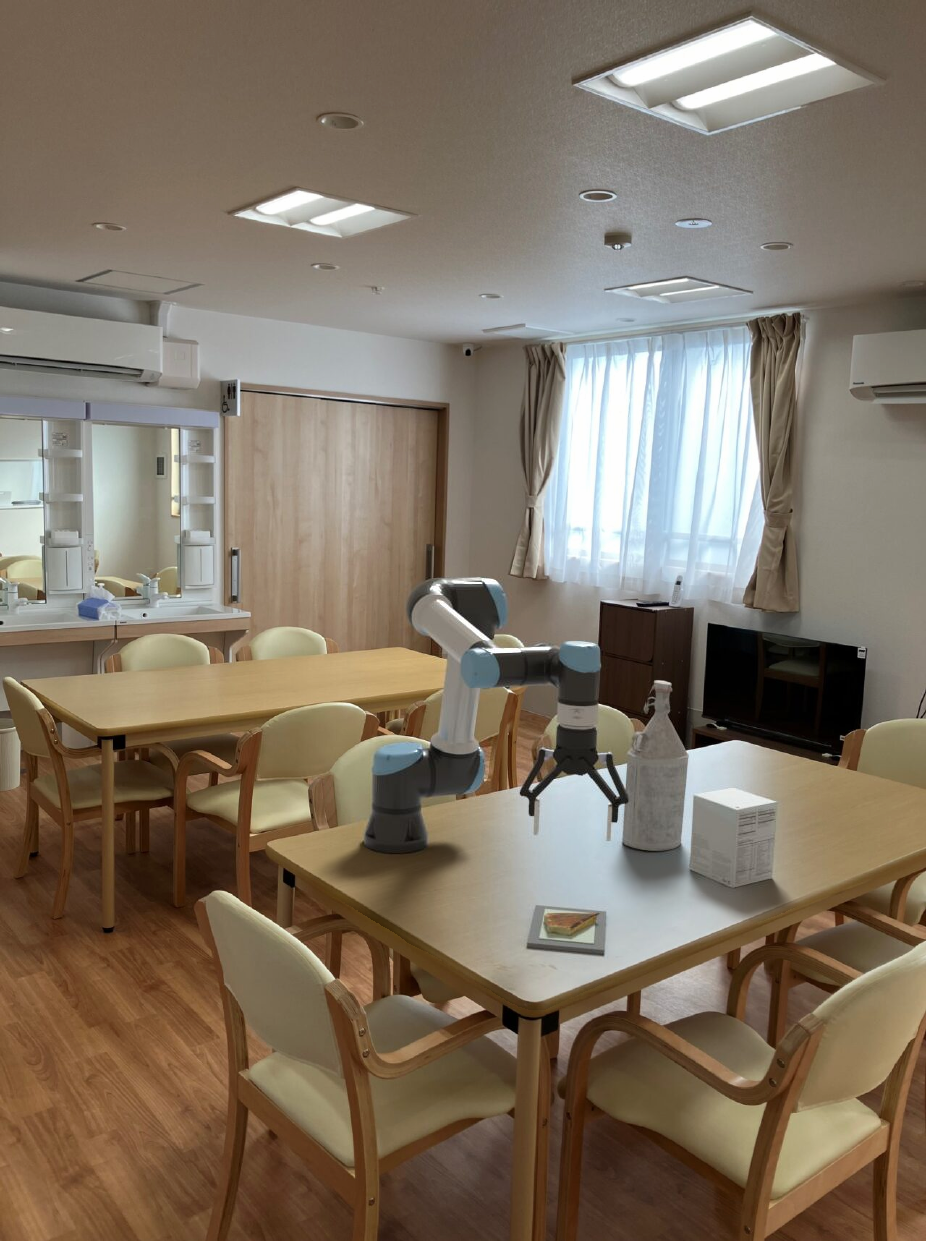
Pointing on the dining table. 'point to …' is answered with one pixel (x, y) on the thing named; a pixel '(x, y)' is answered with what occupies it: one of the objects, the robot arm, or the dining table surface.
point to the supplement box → (733, 836)
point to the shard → (568, 922)
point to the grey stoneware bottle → (655, 781)
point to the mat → (579, 941)
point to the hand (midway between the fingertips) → (572, 835)
